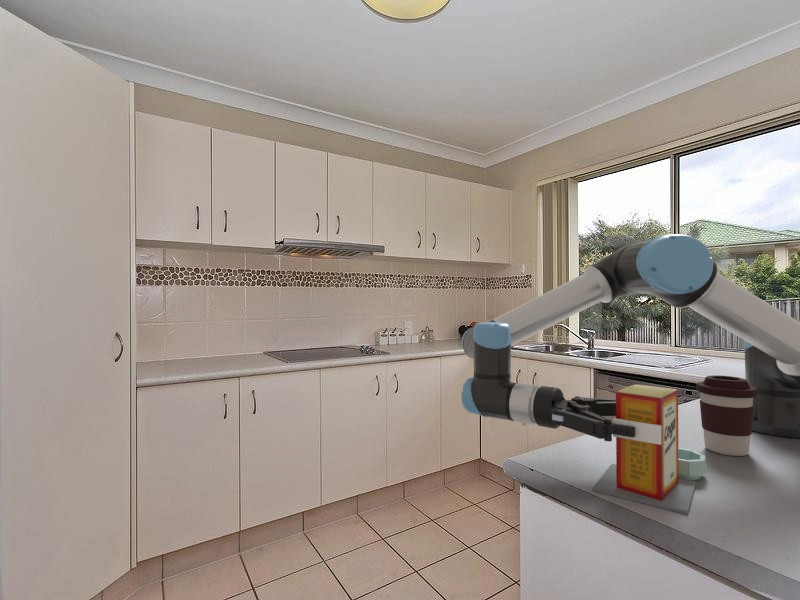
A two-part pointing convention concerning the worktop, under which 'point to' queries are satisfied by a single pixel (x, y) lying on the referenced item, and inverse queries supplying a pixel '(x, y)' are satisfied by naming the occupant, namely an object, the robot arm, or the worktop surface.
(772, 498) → the worktop surface
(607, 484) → the mat
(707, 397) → the coffee cup
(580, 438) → the worktop surface
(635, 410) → the baking soda box
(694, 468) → the bowl
